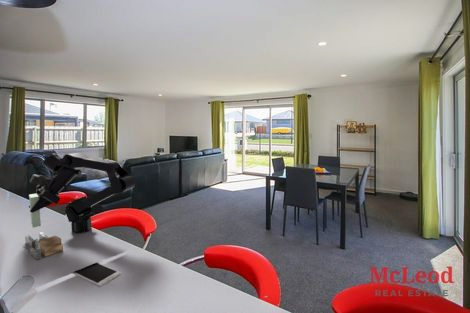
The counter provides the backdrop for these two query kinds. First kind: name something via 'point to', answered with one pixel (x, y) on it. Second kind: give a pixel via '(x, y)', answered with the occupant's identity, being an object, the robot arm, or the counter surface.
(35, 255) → the rack
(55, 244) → the block
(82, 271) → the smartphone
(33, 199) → the pale green block
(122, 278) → the counter surface
